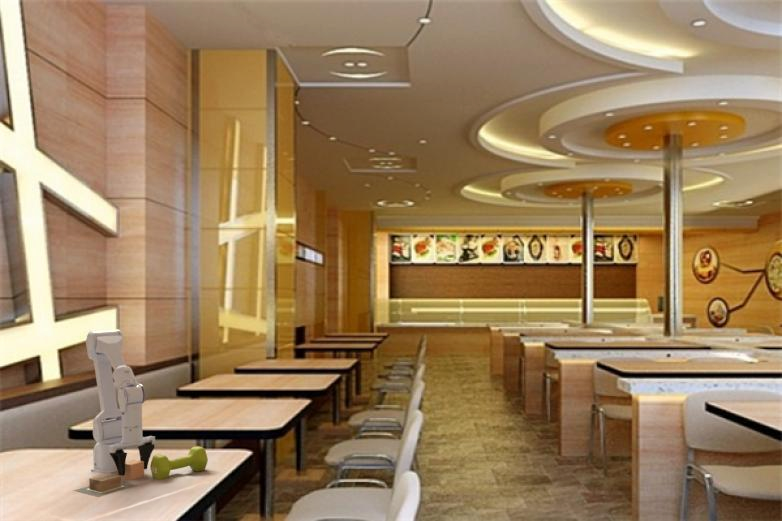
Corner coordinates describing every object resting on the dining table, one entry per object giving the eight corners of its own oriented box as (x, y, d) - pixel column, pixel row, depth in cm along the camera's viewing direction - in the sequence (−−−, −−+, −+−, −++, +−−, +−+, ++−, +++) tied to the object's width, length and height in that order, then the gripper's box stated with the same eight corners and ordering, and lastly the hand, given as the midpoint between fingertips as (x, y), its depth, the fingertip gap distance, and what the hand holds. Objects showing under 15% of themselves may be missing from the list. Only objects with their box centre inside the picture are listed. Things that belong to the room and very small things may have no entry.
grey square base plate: (73, 492, 191) (73, 490, 191) (111, 481, 201) (111, 479, 201) (98, 499, 184) (98, 496, 184) (136, 487, 194) (136, 485, 194)
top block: (121, 480, 203) (121, 463, 203) (134, 476, 206) (134, 459, 207) (131, 482, 200) (130, 464, 200) (144, 478, 204) (143, 461, 204)
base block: (89, 489, 192) (89, 478, 192) (108, 483, 197) (108, 473, 197) (101, 492, 188) (101, 481, 188) (121, 486, 193) (121, 475, 193)
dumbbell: (160, 483, 198) (159, 458, 198) (147, 478, 203) (147, 454, 204) (210, 471, 210) (210, 447, 210) (197, 467, 215) (196, 444, 215)
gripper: (118, 432, 196) (119, 479, 195) (160, 422, 208) (161, 467, 207) (104, 429, 199) (104, 476, 199) (146, 420, 211) (147, 465, 211)
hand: (133, 472), depth 203 cm, fingers open, 7 cm apart
